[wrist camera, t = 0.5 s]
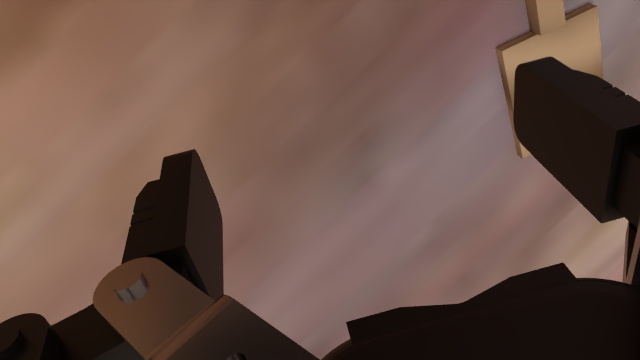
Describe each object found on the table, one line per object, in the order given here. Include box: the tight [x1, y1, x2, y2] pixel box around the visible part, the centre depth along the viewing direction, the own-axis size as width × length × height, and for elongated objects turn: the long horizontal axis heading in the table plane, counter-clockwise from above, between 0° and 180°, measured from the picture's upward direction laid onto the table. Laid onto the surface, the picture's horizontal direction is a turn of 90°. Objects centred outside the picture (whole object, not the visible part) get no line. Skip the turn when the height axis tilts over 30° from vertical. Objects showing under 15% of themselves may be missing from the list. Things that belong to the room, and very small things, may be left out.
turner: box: [496, 0, 603, 159], centre depth 33 cm, size 21×7×1 cm, turn 22°
